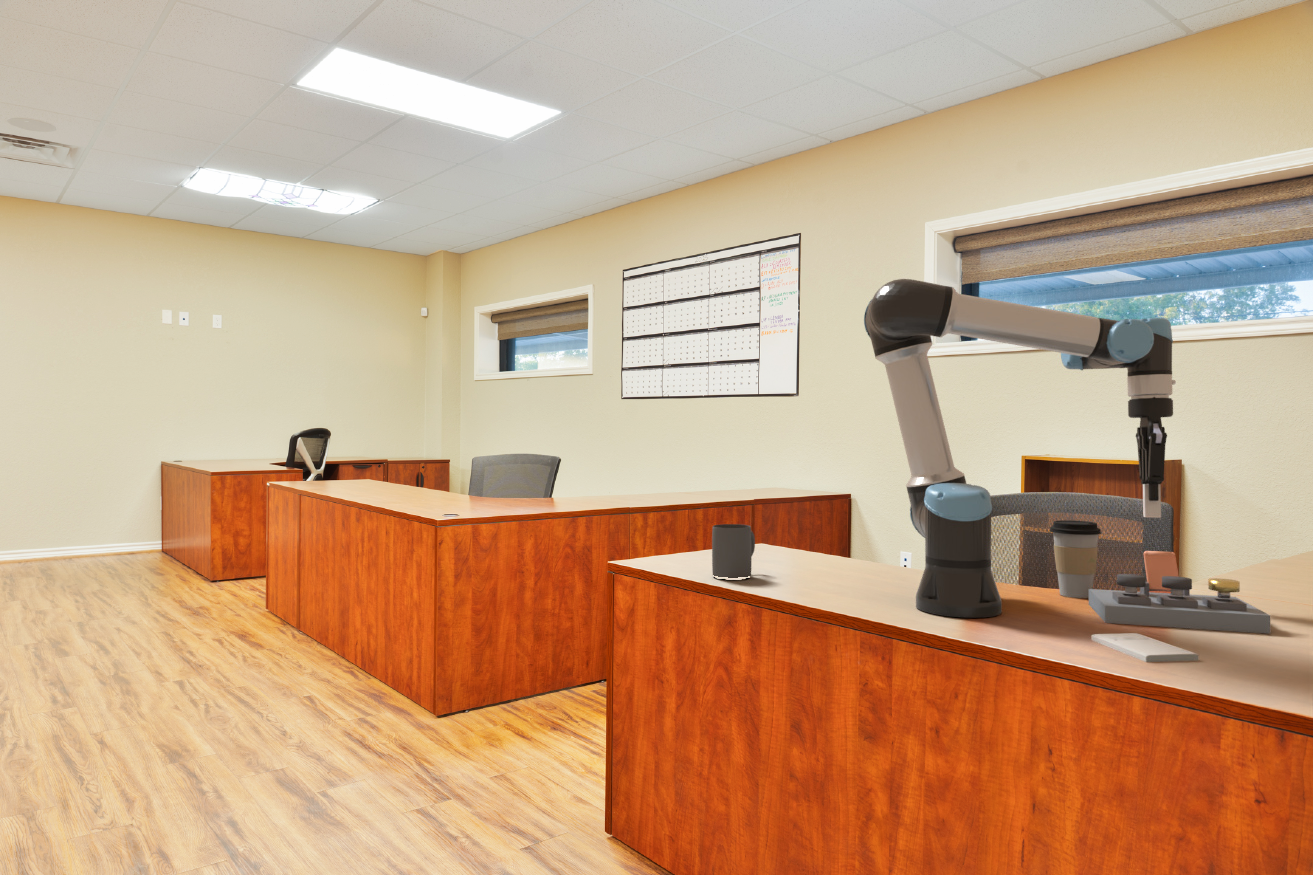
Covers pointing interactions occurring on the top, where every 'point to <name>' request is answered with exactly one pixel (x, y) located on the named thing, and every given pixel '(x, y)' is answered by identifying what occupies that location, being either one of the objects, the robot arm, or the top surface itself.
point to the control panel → (1178, 610)
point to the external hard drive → (1144, 647)
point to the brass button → (1223, 586)
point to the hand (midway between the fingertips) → (1152, 517)
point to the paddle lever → (1159, 568)
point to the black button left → (1131, 582)
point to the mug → (732, 550)
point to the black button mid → (1176, 584)
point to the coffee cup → (1075, 556)
